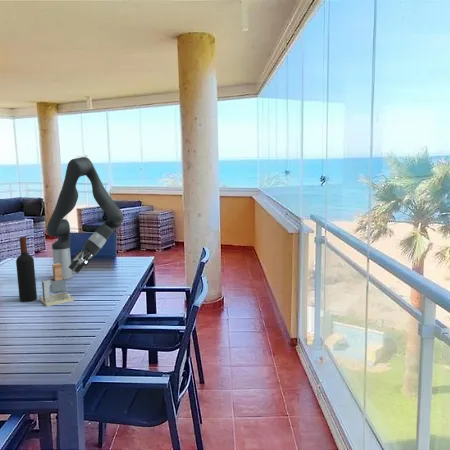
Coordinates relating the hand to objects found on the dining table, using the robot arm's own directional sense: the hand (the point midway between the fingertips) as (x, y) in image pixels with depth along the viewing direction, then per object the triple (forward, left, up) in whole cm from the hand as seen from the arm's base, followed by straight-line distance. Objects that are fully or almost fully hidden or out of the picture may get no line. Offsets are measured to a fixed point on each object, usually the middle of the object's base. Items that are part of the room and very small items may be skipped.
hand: (72, 270), depth 204 cm
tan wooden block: (0, -7, -8) cm, 11 cm away
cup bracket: (0, -8, -13) cm, 15 cm away
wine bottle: (-10, -19, -13) cm, 25 cm away
